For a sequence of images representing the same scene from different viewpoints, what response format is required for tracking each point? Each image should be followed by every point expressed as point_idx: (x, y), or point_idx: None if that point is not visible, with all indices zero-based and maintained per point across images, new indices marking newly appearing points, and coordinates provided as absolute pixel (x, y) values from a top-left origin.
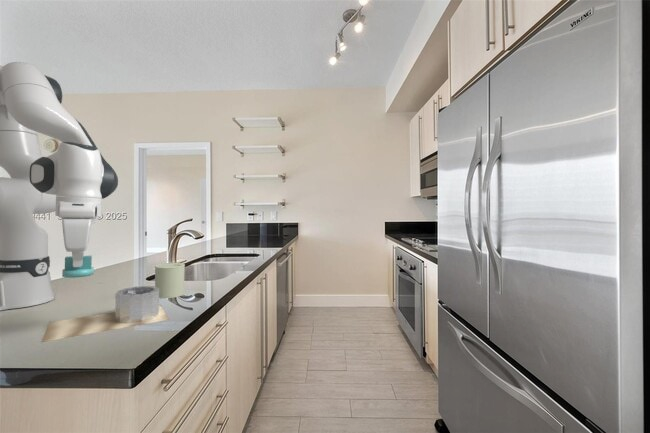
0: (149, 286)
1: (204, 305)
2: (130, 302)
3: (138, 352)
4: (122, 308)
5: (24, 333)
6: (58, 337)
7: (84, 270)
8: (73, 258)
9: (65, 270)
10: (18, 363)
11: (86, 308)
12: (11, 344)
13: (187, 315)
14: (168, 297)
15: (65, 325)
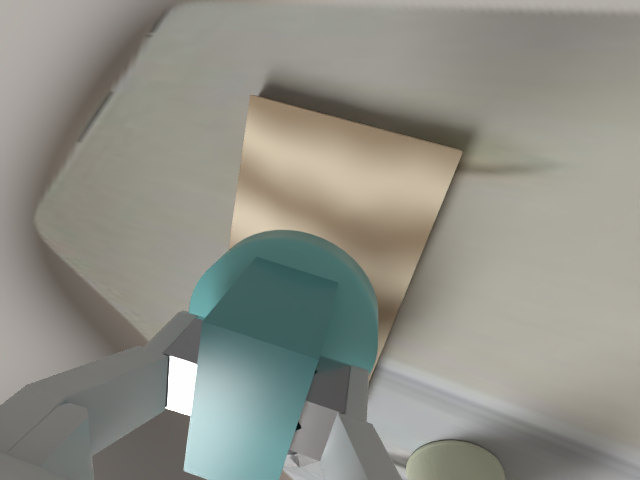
0: (309, 459)
1: (307, 476)
2: None
3: (93, 256)
4: None
5: (469, 70)
6: (258, 141)
7: None
8: (116, 358)
9: (253, 261)
10: (184, 32)
11: (607, 293)
12: (373, 23)
13: None
14: (417, 469)
15: (371, 182)
